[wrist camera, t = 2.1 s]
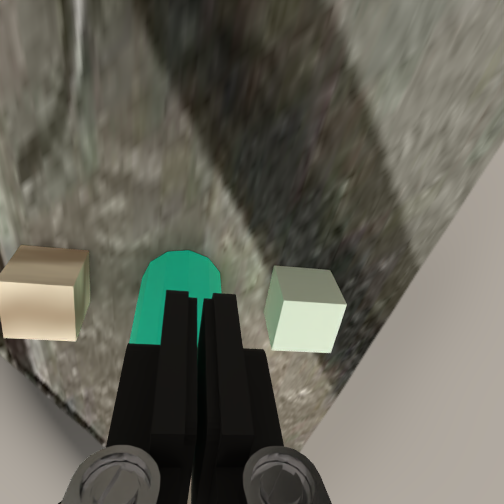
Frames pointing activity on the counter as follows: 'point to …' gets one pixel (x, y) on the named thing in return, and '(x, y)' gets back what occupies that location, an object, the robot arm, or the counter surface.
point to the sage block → (303, 309)
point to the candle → (171, 278)
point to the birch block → (45, 293)
